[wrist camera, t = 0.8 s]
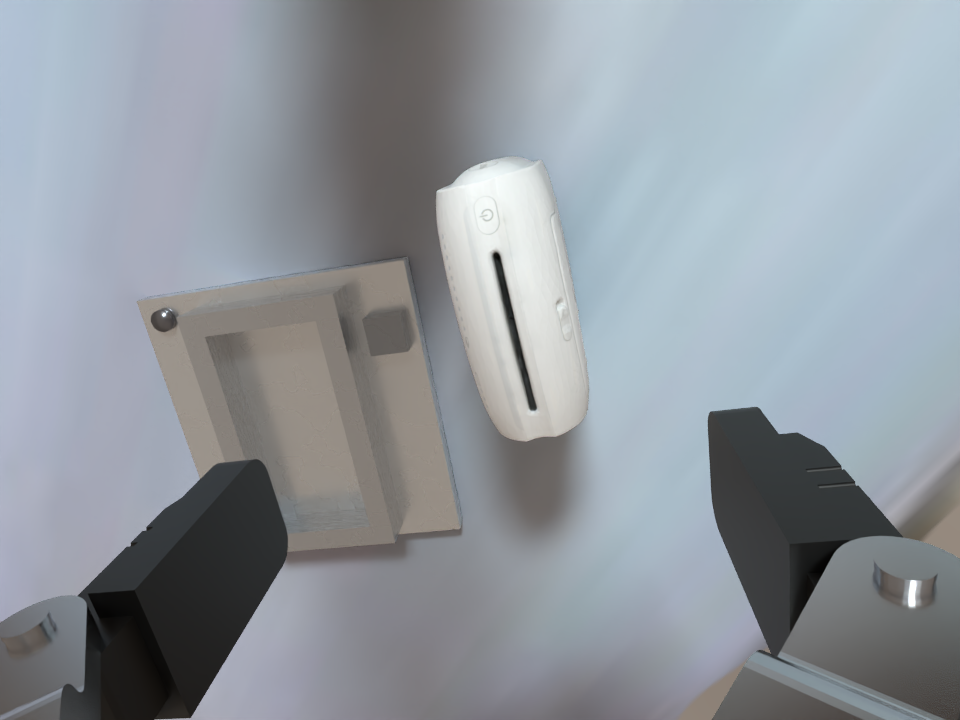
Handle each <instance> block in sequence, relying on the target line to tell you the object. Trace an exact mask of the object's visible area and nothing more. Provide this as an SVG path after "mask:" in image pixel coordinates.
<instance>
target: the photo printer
mask: <svg viewBox="0 0 960 720" xmlns="http://www.w3.org/2000/svg"><path fill="white" fill-rule="evenodd" d="M436 217H437V228H438V235H439V240H440V246H441V251H442V256H443V262H444V267H445V271H446V276H447V281H448V285H449V289H450V294H451V298H452V302H453V306H454V310H455V314H456V317H457V321H458V325H459V329H460V332H461V336H462V340H463V343H464V347H465V350H466V354H467V357H468V360H469V363H470V367H471V370H472V373H473V376H474V379H475V382H476V385H477V388H478V391H479V394H480V396H481V399H482V401H483V404H484V406H485V409H486V410H487V413H488V415H489V416H490V418H491V420H492V422H493V423H494V425H495V426H496V428H497V429H498V431H499V432H500V433H501V434H502V435H503V436H505V437H507V438H509V439H512V440H516V441H525V442H527V441H530V440H533V439H535V438H540V437H557V436H560V435H562V434H564V433H566V432H568V431H569V430H571V429H573V428H574V427H576V426H577V425H578V424H579V423H580V422H581V421H582V420H583V419H584V417H585V416H586V414H587V410H588V399H589V379H588V372H587V359H586V357H585V351H584V345H583V339H582V333H581V328H580V322H579V317H578V311H579V310H578V308H577V303H576V297H575V291H574V286H573V280H572V275H571V269H570V264H569V259H568V254H567V249H566V244H565V239H564V235H563V230H562V225H561V221H560V216H559V212H558V208H557V204H556V198H555V196H554V192H553V188H552V184H551V181H550V178H549V175H548V173H547V170H546V168H545V166H544V164H543V162H542V160H537V161H534V162H532V161H530V160H528V159H525V158H522V157H516V156H509V157H502V158H498V159H494V160H490V161H487V162H483V163H480V164H477V165H475V166H473V167H471V168H469V169H468V170H466V171H464V172H463V173H462V174H461V175H460V176H459V177H458V178H457V179H456V180H455V181H454V183H453V184H451V185H449V186H446V187H444V188H442V189H439V190H437V192H436Z"/></svg>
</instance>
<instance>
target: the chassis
mask: <svg viewBox="0 0 960 720" xmlns="http://www.w3.org/2000/svg"><path fill="white" fill-rule="evenodd" d="M137 304H138V306H139V309H140V312H141V315H142V318H143V320H144V323H145V326H146V329H147V332H148V334H149V337H150V340H151V343H152V345H153V348H154V351H155V354H156V357H157V359H158V362H159V365H160V368H161V371H162V373H163V376H164V379H165V382H166V385H167V387H168V390H169V393H170V396H171V399H172V401H173V404H174V407H175V410H176V412H177V415H178V418H179V421H180V424H181V426H182V429H183V432H184V435H185V438H186V440H187V443H188V446H189V449H190V452H191V454H192V457H193V460H194V463H195V466H196V468H197V471H198V474H199V477H200V479H201V478H202V477H203V476H204V475H205V474H206V473H207V472H208V471H209V470H210V469H211V468H212V467H213V466H214V465H215V464H217V463H223V462H233V461H242V460H252V459H258V460H260V461H261V462H262V463H263V464H264V465H265V467H266V468H267V471H268V474H269V477H270V480H271V483H272V486H273V489H274V492H275V495H276V498H277V501H278V504H279V508H280V511H281V514H282V517H283V520H284V523H285V526H286V530H287V535H288V550H287V552H293V551H305V550H317V549H329V548H342V547H354V546H366V545H378V544H390V543H396V540H397V537H398V535H399V534H408V533H420V532H432V531H444V530H456V529H460V528H461V524H462V514H461V510H460V505H459V500H458V495H457V490H456V486H455V481H454V476H453V471H452V466H451V462H450V457H449V452H448V447H447V442H446V438H445V433H444V428H443V423H442V418H441V413H440V409H439V404H438V399H437V394H436V389H435V385H434V380H433V375H432V370H431V365H430V361H429V356H428V351H427V346H426V341H425V337H424V332H423V327H422V322H421V317H420V313H419V308H418V303H417V298H416V293H415V288H414V284H413V279H412V274H411V269H410V264H409V260H408V257H402V258H395V259H389V260H382V261H376V262H369V263H363V264H357V265H350V266H344V267H337V268H331V269H324V270H318V271H312V272H305V273H299V274H292V275H286V276H279V277H273V278H267V279H260V280H254V281H247V282H241V283H234V284H228V285H222V286H215V287H209V288H202V289H196V290H189V291H183V292H176V293H170V294H164V295H157V296H151V297H147V298H144V299H142V300H139V301H137Z"/></svg>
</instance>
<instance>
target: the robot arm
mask: <svg viewBox="0 0 960 720" xmlns="http://www.w3.org/2000/svg"><path fill="white" fill-rule="evenodd" d="M708 438H709V457H710V476H711V494H712V503H713V509H714V514H715V519H716V523H717V526H718V529H719V532H720V534H721V537H722V539H723V542H724V544H725V546H726V549H727V551H728V553H729V556H730V558H731V560H732V563H733V565H734V567H735V570H736V572H737V574H738V577H739V579H740V582H741V584H742V586H743V589H744V591H745V593H746V596H747V598H748V600H749V603H750V605H751V607H752V610H753V612H754V614H755V617H756V619H757V622H758V624H759V626H760V629H761V631H762V633H763V636H764V638H765V640H766V643H767V645H768V647H769V650H770V652H771V654H770V653H768V652H765V651H763V650H758V651H756V652H755V653H753V654H752V655H751V656H750V658H749V659H748V660H747V662H746V663H745V665H744V666H743V668H742V670H741V672H740V673H739V675H738V676H737V678H736V680H735V681H734V683H733V685H732V687H731V688H730V690H729V692H728V694H727V695H726V697H725V698H724V700H723V702H722V703H721V705H720V707H719V709H718V711H717V712H716V714H715V715H714V717H713V719H712V720H960V559H959V558H958V557H956V556H954V555H953V554H951V553H948V552H947V551H945V550H943V549H940V548H938V547H935V546H933V545H930V544H927V543H924V542H920V541H917V540H912V539H908V538H903V536H902V535H901V534H900V533H899V532H898V531H897V529H896V528H895V527H894V526H893V525H892V524H891V523H890V521H889V520H888V519H887V518H886V517H885V516H884V514H883V513H882V512H881V511H880V510H879V509H878V508H877V506H876V505H875V504H874V503H873V502H872V501H871V500H870V498H869V497H868V496H867V495H866V494H865V493H864V491H863V490H862V489H861V488H860V487H859V486H856V485H855V481H854V480H853V479H852V478H851V476H850V475H849V474H848V473H847V472H846V471H845V470H842V468H841V465H840V464H839V463H838V462H837V460H836V459H835V458H834V457H833V456H832V455H831V453H830V452H829V451H828V450H827V449H826V448H825V447H824V446H822V445H820V444H818V443H816V442H814V441H812V440H810V439H809V438H807V437H805V436H803V435H801V434H799V433H788V434H778V433H777V431H776V430H775V429H774V427H773V426H772V425H771V423H770V422H769V421H768V419H767V418H766V417H765V415H764V414H763V413H762V411H761V410H760V409H759V408H758V407H750V408H741V409H731V410H722V411H712V412H710V413H709V416H708ZM146 528H147V530H146V531H142V532H141V533H140V534H139V535H138V536H137V537H136V538H135V539H134V540H133V541H132V542H131V547H126V548H125V549H124V550H123V551H122V552H121V553H120V554H119V555H118V556H117V557H116V558H115V559H114V560H113V561H112V562H111V563H110V564H109V565H108V566H107V567H106V568H105V569H104V570H103V571H102V572H101V573H100V574H99V575H98V576H97V577H96V578H95V579H94V580H93V581H92V582H91V583H90V584H89V585H88V586H87V587H86V588H85V589H84V590H83V591H82V592H81V593H80V594H79V595H78V596H71V595H68V596H59V597H55V598H51V599H47V600H44V601H41V602H39V603H36V604H33V605H31V606H29V607H27V608H25V609H23V610H21V611H19V612H17V613H15V614H13V615H12V616H10V617H8V618H7V619H5V620H4V621H2V622H1V623H0V720H154V719H176V718H191V716H192V715H193V713H194V711H195V710H196V708H197V706H198V705H199V703H200V702H201V700H202V698H203V697H204V695H205V693H206V692H207V690H208V688H209V687H210V685H211V683H212V682H213V680H214V678H215V677H216V675H217V673H218V672H219V670H220V668H221V667H222V665H223V663H224V662H225V660H226V659H227V657H228V655H229V654H230V652H231V650H232V649H233V647H234V645H235V644H236V642H237V640H238V639H239V637H240V635H241V634H242V632H243V630H244V629H245V627H246V625H247V624H248V622H249V620H250V619H251V617H252V616H253V614H254V612H255V611H256V609H257V607H258V606H259V604H260V602H261V601H262V599H263V597H264V596H265V594H266V592H267V591H268V589H269V587H270V586H271V584H272V582H273V581H274V579H275V578H276V576H277V574H278V573H279V571H280V569H281V568H282V566H283V564H284V562H285V559H286V556H287V550H288V535H287V530H286V526H285V523H284V520H283V517H282V514H281V511H280V508H279V504H278V501H277V498H276V495H275V492H274V489H273V486H272V483H271V480H270V477H269V474H268V471H267V468H266V467H265V465H264V464H263V463H262V462H261V461H260V460H258V459H252V460H242V461H233V462H223V463H217V464H215V465H214V466H213V467H212V468H211V469H210V470H209V471H208V472H207V473H206V474H205V475H204V476H203V477H202V478H201V479H200V480H199V481H198V482H197V483H196V484H195V485H194V486H193V487H192V488H191V489H190V490H189V491H188V492H187V493H186V494H185V495H184V496H183V497H182V498H181V499H179V500H178V501H176V502H175V503H173V504H172V505H170V506H168V507H167V508H165V509H164V510H163V511H162V512H161V513H160V514H159V515H158V516H157V517H156V518H155V519H154V520H153V521H152V522H151V523H150V524H149V525H148V526H147V527H146Z"/></svg>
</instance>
